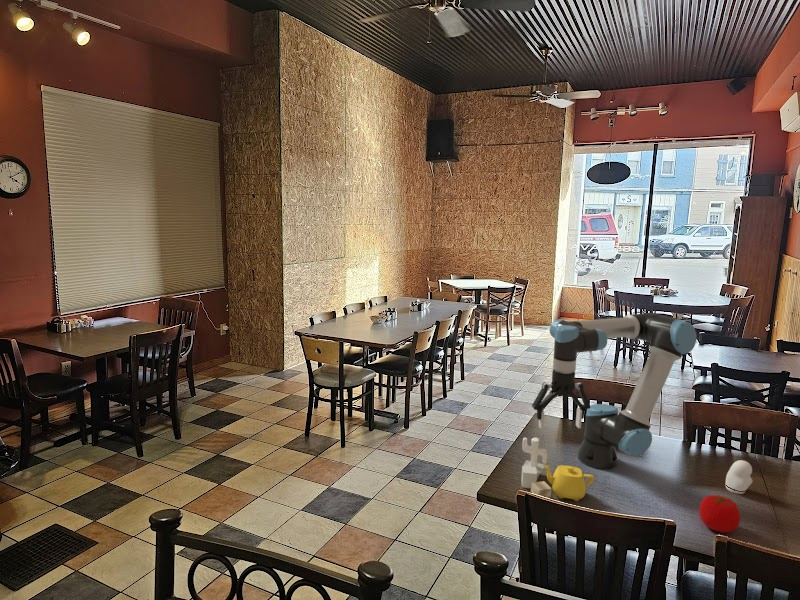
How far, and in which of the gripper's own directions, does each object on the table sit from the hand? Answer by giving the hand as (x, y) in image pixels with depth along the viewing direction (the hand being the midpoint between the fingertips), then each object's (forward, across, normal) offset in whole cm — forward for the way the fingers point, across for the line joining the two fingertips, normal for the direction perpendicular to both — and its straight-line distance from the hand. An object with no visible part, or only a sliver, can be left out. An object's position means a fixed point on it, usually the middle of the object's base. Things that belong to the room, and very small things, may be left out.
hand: (559, 427), depth 187 cm
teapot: (+25, -3, +2) cm, 25 cm away
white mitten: (+26, -68, +2) cm, 73 cm away
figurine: (+25, +4, -11) cm, 28 cm away
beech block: (+25, +7, +4) cm, 26 cm away
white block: (+25, +8, -5) cm, 27 cm away
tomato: (+25, -46, +23) cm, 57 cm away
